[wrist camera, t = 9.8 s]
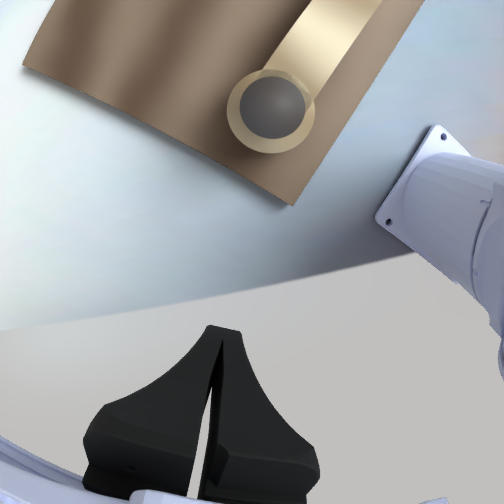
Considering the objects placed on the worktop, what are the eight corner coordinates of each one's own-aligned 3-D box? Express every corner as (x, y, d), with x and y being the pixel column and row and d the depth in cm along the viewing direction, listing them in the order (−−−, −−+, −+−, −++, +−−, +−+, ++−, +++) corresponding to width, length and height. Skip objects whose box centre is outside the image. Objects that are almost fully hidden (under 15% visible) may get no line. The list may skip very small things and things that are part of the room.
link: (282, 165, 18) (289, 176, 14) (216, 125, 17) (201, 125, 13) (420, -38, 12) (449, -64, 8) (364, -74, 11) (383, -107, 7)
